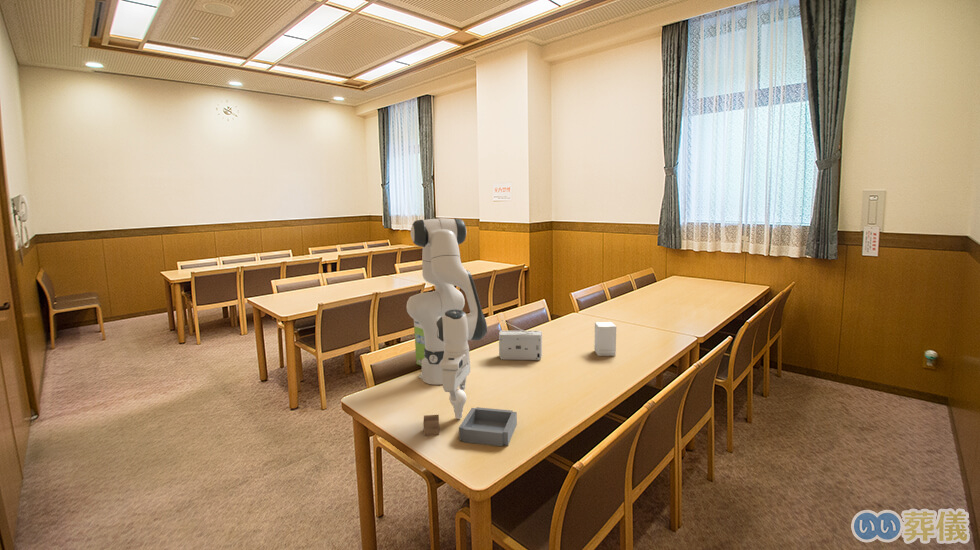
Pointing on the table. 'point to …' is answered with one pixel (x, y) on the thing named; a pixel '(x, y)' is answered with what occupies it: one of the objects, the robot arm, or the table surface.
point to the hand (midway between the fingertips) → (458, 394)
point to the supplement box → (605, 339)
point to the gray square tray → (488, 426)
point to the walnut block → (431, 425)
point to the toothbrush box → (419, 342)
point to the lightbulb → (459, 403)
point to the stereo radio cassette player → (520, 345)
